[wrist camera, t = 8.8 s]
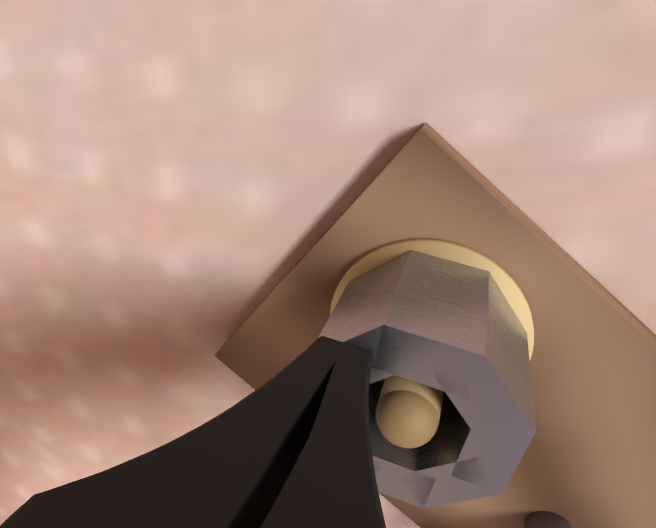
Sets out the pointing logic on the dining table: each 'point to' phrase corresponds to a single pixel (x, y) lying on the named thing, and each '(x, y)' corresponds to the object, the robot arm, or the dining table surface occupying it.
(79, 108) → the dining table surface
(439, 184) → the board
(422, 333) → the collar
